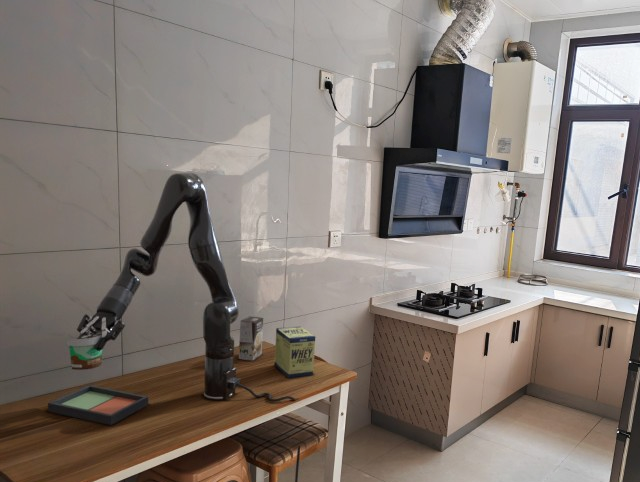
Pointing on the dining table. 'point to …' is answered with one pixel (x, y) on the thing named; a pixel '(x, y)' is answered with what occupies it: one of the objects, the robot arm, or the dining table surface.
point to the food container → (85, 351)
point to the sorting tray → (98, 404)
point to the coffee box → (250, 338)
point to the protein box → (294, 351)
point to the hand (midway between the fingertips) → (87, 347)
